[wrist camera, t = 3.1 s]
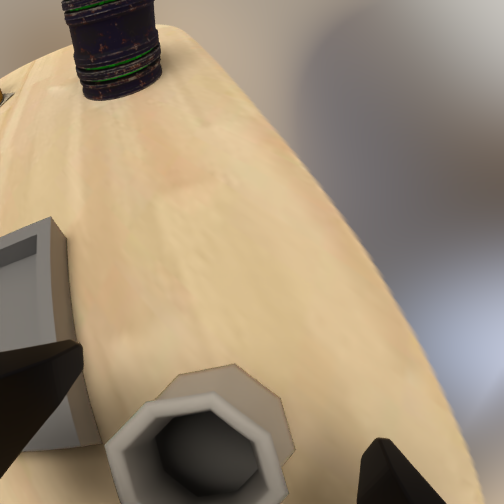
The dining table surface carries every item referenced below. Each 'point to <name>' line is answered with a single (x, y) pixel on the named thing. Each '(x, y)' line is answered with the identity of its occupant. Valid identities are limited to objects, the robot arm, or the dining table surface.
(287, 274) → the dining table surface
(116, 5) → the storage jar
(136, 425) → the flask
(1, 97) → the condiment
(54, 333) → the tray
